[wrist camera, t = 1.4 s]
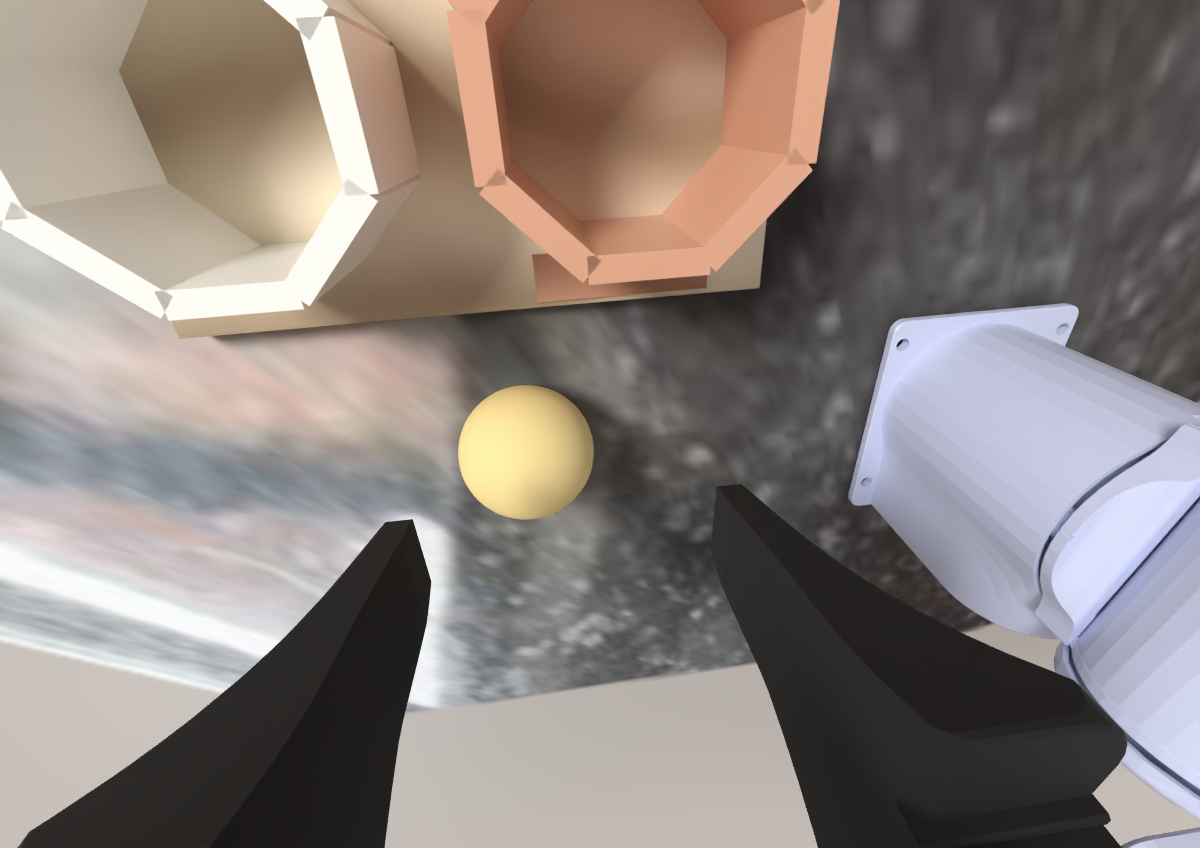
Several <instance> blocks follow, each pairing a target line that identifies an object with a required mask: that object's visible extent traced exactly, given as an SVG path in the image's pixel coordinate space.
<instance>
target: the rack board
mask: <svg viewBox="0 0 1200 848" xmlns="http://www.w3.org/2000/svg"><path fill="white" fill-rule="evenodd" d="M347 1H348V2H349V3H350V4H351V5H353V6H354V7H355V8H356V9H357V10H358V11H359V12H360V13H361V14H362V15H363V16H364V17H366V18H367V19H368V20H369V21H370V22H371V23H372V24H373V25H374V26H375V27H376V28H377V29H378V30H380V31H381V32H382V33H383V34H384V35H385V36H386V37H387V38H388V39H389V40H390V43H389V45H391V46H393V47H394V48H395V53H396V57H397V62H398V67H399V72H400V77H401V81H402V86H403V91H404V96H405V100H406V105H407V110H408V115H409V120H410V124H411V129H412V134H413V139H414V143H415V148H416V153H417V158H418V163H419V167H420V172H421V174H418V175H416V176H417V177H418V178H419V181H418V182H417V184H416V185H415V187H414V188H413V190H412V191H411V193H410V194H409V196H408V197H407V199H406V200H405V202H404V203H403V205H402V206H401V208H400V209H399V211H398V212H397V214H396V215H395V217H394V218H393V220H392V221H391V223H390V224H389V226H388V227H387V229H386V230H385V232H384V233H383V235H382V236H381V238H380V239H379V241H378V242H377V244H376V245H375V247H374V248H373V250H372V251H371V253H370V254H369V256H368V257H367V258H366V259H365V260H364V261H363V262H362V263H360V264H359V265H358V266H357V267H356V268H355V269H353V270H352V271H351V272H350V273H349V274H347V275H346V276H345V277H344V278H343V279H341V280H340V281H339V282H338V283H337V284H336V285H334V286H333V287H332V288H331V289H330V290H328V291H327V292H326V293H325V294H324V295H322V296H321V297H320V298H319V299H318V300H317V301H315V302H314V303H313V304H312V305H311V306H308V307H306V308H305V309H302V310H290V311H278V312H266V313H255V314H243V315H231V316H219V317H208V318H196V319H184V320H172V323H173V325H174V327H175V329H176V331H177V333H178V335H179V337H180V339H182V338H194V337H205V336H217V335H228V334H240V333H251V332H262V331H274V330H285V329H297V328H308V327H320V326H331V325H343V324H354V323H365V322H377V321H388V320H400V319H411V318H423V317H434V316H446V315H457V314H468V313H480V312H491V311H503V310H514V309H526V308H537V307H549V306H560V305H571V304H583V303H594V302H606V301H617V300H629V299H640V298H652V297H663V296H674V295H686V294H697V293H709V292H720V291H732V290H743V289H755V288H759V286H760V277H761V267H762V258H763V249H764V239H765V230H766V220H767V219H766V220H765V221H764V222H763V223H762V224H761V225H760V226H759V227H758V228H757V229H756V230H755V231H754V232H753V234H752V235H751V236H750V237H749V238H748V239H747V240H746V241H745V242H744V243H743V244H742V245H741V246H740V247H739V248H738V249H737V250H736V251H735V252H734V253H733V255H732V256H731V257H730V258H729V259H728V260H727V261H726V262H725V263H724V264H723V265H722V266H721V267H720V268H719V269H718V270H717V271H716V272H715V271H714V270H713V269H712V268H710V275H702V276H690V277H678V278H667V279H655V280H643V281H631V282H620V283H608V284H596V285H589V284H588V281H587V279H586V280H585V281H584V282H583V283H582V282H581V281H580V280H579V279H577V278H576V277H575V276H574V275H573V274H572V273H570V272H569V271H568V270H567V269H566V268H565V267H563V266H562V265H561V264H560V263H559V262H558V261H556V260H555V259H554V258H553V257H552V256H551V255H549V254H548V253H547V252H546V251H545V250H544V249H542V248H541V247H540V246H539V245H538V244H537V243H535V242H534V241H533V240H532V239H531V238H530V237H528V236H527V235H526V234H525V233H524V232H523V231H521V230H520V229H519V228H518V227H517V226H516V225H514V224H513V223H512V222H511V221H510V220H509V219H507V218H506V217H505V216H504V215H503V214H502V213H500V212H499V211H498V210H497V209H496V208H495V207H493V206H492V205H491V204H490V203H489V202H488V201H486V200H485V199H484V198H483V197H482V196H481V195H479V193H480V192H481V190H482V189H483V188H484V187H475V184H474V177H473V171H472V165H471V159H470V153H469V147H468V141H467V134H466V128H465V122H464V116H463V110H462V104H461V97H460V91H459V85H458V79H457V73H456V67H455V61H454V54H453V48H452V42H451V36H450V30H449V24H448V17H447V11H455V10H454V9H453V7H452V6H451V4H450V3H449V2H448V0H347ZM726 49H727V38H726V37H725V36H724V34H723V33H722V32H721V30H720V29H719V28H718V27H717V25H716V24H715V23H714V21H713V20H712V19H711V17H710V16H709V15H708V13H707V12H706V11H705V9H704V8H703V7H702V5H701V4H700V3H699V1H698V0H533V1H532V2H531V4H530V5H529V7H528V8H527V10H526V11H525V13H524V14H523V16H522V17H521V19H520V20H519V22H518V23H517V25H516V26H515V28H514V29H513V31H512V32H511V34H510V35H509V37H508V38H507V40H506V41H505V43H504V44H503V46H502V47H501V49H500V50H499V55H500V63H501V71H502V79H503V87H504V95H505V103H506V111H507V119H508V127H509V135H510V143H511V151H512V159H513V160H514V161H515V162H516V163H517V164H518V165H519V166H520V167H521V168H522V169H523V170H524V171H525V172H527V173H528V174H529V175H530V176H531V177H532V178H533V179H534V180H535V181H536V182H537V183H539V184H540V185H541V186H542V187H543V188H544V189H545V190H546V191H547V192H548V193H549V194H551V195H552V196H553V197H554V198H555V199H556V200H557V201H558V202H559V203H560V204H561V205H562V206H564V207H565V208H566V209H567V210H568V211H569V212H570V213H571V214H572V215H573V216H574V217H576V218H577V219H578V220H579V221H586V220H599V219H612V218H625V217H638V216H652V215H661V214H662V213H663V211H664V210H665V209H666V208H667V207H668V206H669V205H670V203H671V202H672V201H673V200H674V199H675V198H676V197H677V195H678V194H679V193H680V192H681V191H682V190H683V188H684V187H685V186H686V185H687V184H688V183H689V182H690V180H691V179H692V178H693V177H694V176H695V175H696V174H697V172H698V171H699V170H700V169H701V168H702V167H703V165H704V164H705V163H706V162H707V161H708V160H709V159H710V157H711V156H712V155H713V154H714V153H715V152H716V151H717V149H718V148H719V147H720V146H721V133H722V116H723V99H724V82H725V65H726ZM119 73H120V75H121V77H122V80H123V82H124V84H125V86H126V89H127V91H128V93H129V96H130V98H131V100H132V102H133V105H134V107H135V109H136V111H137V114H138V116H139V118H140V121H141V123H142V125H143V127H144V130H145V132H146V134H147V136H148V139H149V141H150V143H151V146H152V148H153V150H154V152H155V155H156V157H157V159H158V161H159V164H160V166H161V168H162V170H163V173H164V175H165V177H166V180H167V182H168V183H169V184H170V185H172V186H173V187H175V188H176V189H178V190H179V191H181V192H182V193H184V194H185V195H187V196H188V197H190V198H191V199H193V200H194V201H196V202H197V203H199V204H200V205H202V206H203V207H205V208H206V209H208V210H209V211H211V212H212V213H214V214H215V215H217V216H218V217H220V218H221V219H223V220H224V221H226V222H227V223H229V224H230V225H232V226H233V227H235V228H236V229H238V230H239V231H241V232H242V233H244V234H245V235H247V236H248V237H250V238H251V239H253V240H254V241H256V242H257V243H259V244H260V245H271V244H284V243H297V242H309V241H310V239H311V238H312V236H313V234H314V233H315V231H316V230H317V228H318V226H319V225H320V223H321V221H322V220H323V218H324V217H325V215H326V213H327V212H328V210H329V208H330V207H331V205H332V204H333V202H334V200H335V199H336V197H337V196H338V194H339V192H340V191H341V189H342V187H343V183H342V180H341V176H340V173H339V169H338V166H337V162H336V158H335V155H334V151H333V148H332V144H331V141H330V137H329V134H328V130H327V127H326V123H325V119H324V116H323V112H322V109H321V105H320V102H319V98H318V95H317V91H316V88H315V84H314V80H313V77H312V73H311V70H310V66H309V63H308V59H307V56H306V52H305V49H304V45H303V41H302V38H301V34H300V31H299V30H297V29H296V28H295V27H294V26H293V25H292V24H291V23H289V22H288V21H287V20H286V19H285V18H284V17H282V16H281V15H280V14H279V13H278V12H277V11H275V10H274V9H273V8H272V7H271V6H270V5H269V4H267V3H266V2H265V1H264V0H148V2H147V4H146V7H145V9H144V12H143V14H142V16H141V19H140V21H139V24H138V26H137V28H136V31H135V33H134V36H133V38H132V40H131V43H130V45H129V48H128V50H127V52H126V55H125V57H124V60H123V62H122V64H121V67H120V69H119Z"/></svg>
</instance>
